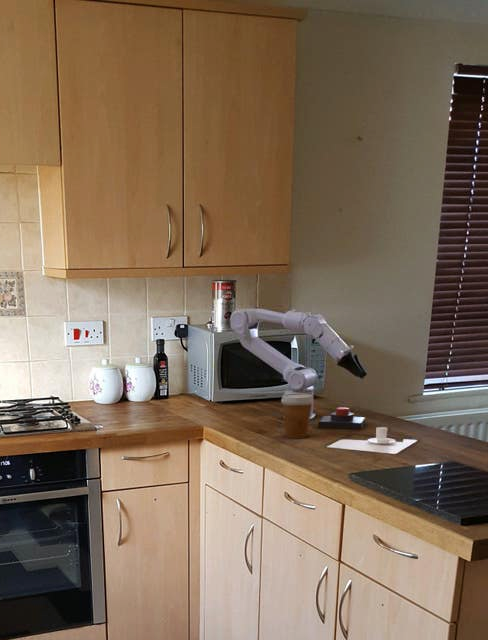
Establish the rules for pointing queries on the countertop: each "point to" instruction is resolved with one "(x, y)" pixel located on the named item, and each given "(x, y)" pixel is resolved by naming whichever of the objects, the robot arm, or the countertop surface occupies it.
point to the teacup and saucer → (374, 443)
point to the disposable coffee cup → (296, 414)
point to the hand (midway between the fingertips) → (362, 375)
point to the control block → (342, 422)
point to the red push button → (342, 411)
